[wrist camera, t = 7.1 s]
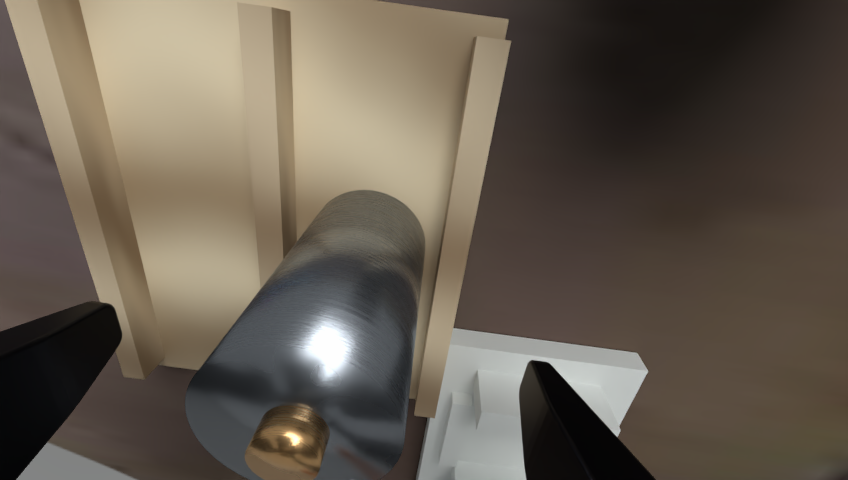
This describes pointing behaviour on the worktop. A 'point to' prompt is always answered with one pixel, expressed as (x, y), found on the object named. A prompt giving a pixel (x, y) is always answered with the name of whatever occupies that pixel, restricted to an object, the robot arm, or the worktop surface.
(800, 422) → the worktop surface
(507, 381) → the cradle
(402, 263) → the cell
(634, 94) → the worktop surface
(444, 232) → the wooden tray
